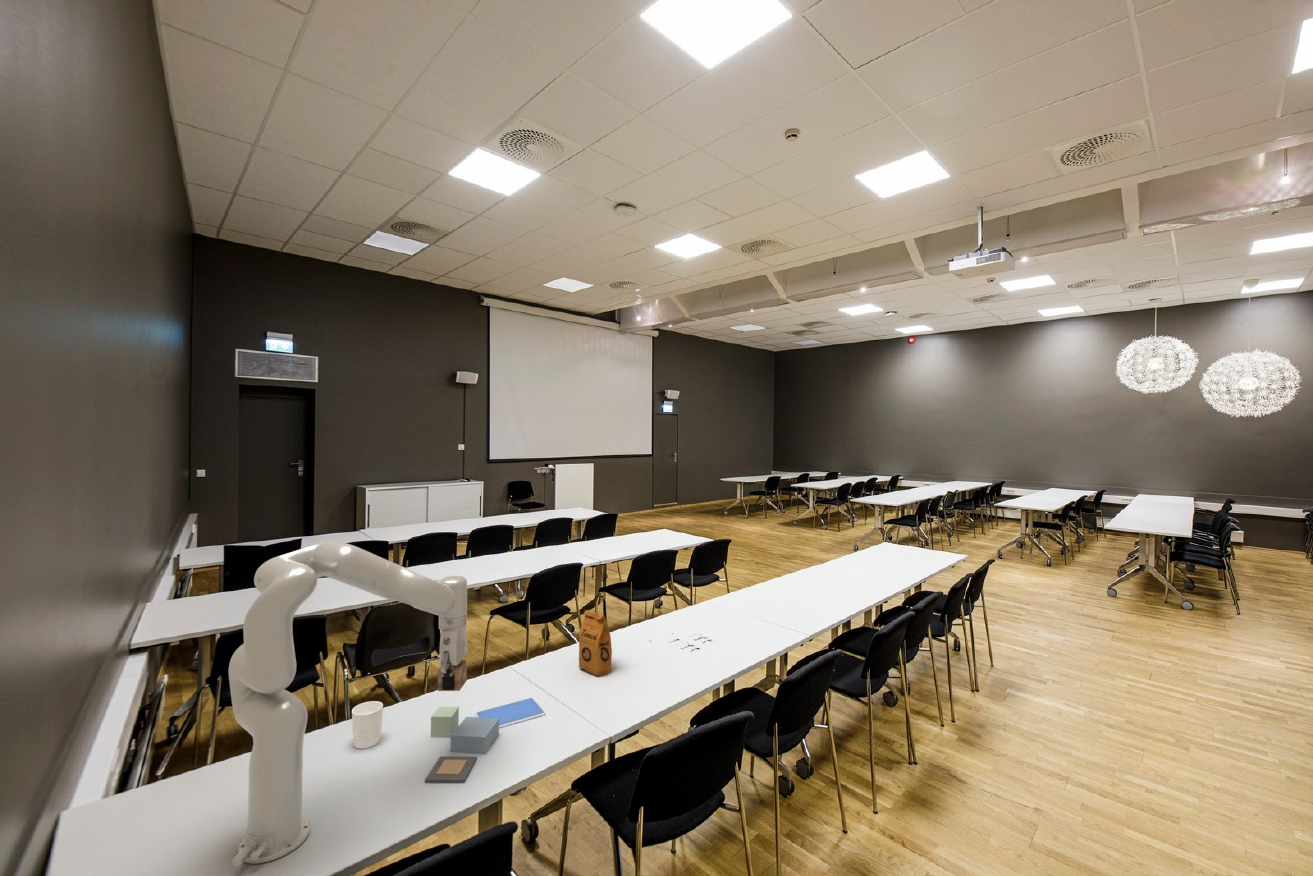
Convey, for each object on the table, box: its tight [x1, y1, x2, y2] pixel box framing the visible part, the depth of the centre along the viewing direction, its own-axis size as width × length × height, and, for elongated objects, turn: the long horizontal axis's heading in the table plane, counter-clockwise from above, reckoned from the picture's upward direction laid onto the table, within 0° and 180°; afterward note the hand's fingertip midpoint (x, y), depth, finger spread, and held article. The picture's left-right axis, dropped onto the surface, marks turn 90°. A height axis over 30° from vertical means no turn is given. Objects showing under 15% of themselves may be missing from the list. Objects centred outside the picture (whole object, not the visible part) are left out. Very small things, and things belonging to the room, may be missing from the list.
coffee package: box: [578, 609, 613, 678], centre depth 204 cm, size 10×12×22 cm
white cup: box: [351, 700, 384, 750], centre depth 154 cm, size 8×8×10 cm
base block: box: [449, 716, 500, 755], centre depth 154 cm, size 10×10×5 cm
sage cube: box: [430, 706, 460, 738], centre depth 160 cm, size 6×6×6 cm
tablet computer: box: [474, 697, 546, 729], centre depth 170 cm, size 19×13×1 cm, turn 123°
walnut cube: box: [437, 659, 468, 692], centre depth 152 cm, size 6×6×6 cm
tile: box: [424, 755, 478, 784], centre depth 141 cm, size 10×10×1 cm
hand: (452, 683), depth 152 cm, fingers closed on walnut cube, 6 cm apart
